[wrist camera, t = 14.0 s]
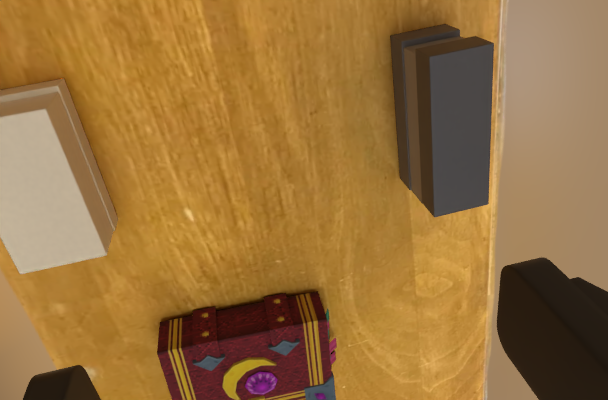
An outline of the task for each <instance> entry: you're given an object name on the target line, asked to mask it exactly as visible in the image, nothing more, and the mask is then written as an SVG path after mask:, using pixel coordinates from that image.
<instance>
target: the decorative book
mask: <svg viewBox="0 0 608 400" xmlns="http://www.w3.org/2000/svg"><path fill="white" fill-rule="evenodd" d="M264 301H265V302H261V303H256V304H251V305H245V306H240V307H235V308H230V309H225V310H220V311H216V308H215V307H211V308H206V309H201V310H196V311H193V316H189V317H183V318H178V319H173V320H168V321H163V322H160V327H159V338H158V350H157V354H158V357H159V360H160V363H161V366H162V369H163V372H164V376H165V379H166V382H167V385H168V388H169V391H170V394H171V397H172V400H336V397H335V386H334V376H333V373H332V371H331V364H332V363H333V362H334V361H335V360H336V356H335V352H334V353H332V354H331V352H332V351H333V350H334V349H335V348H336V347H337V345H336V338H335V339H333V340H332V341H331V342H330V344H329V311H328V309H327V312H326V314H325V312H324V309H323V306H322V303H321V300H320V297H319V294H318V292H313V293H307V294H302V295H297V296H292V297H286V293H284V294H279V295H274V296H269V297H264ZM330 354H331V355H330Z"/></svg>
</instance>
